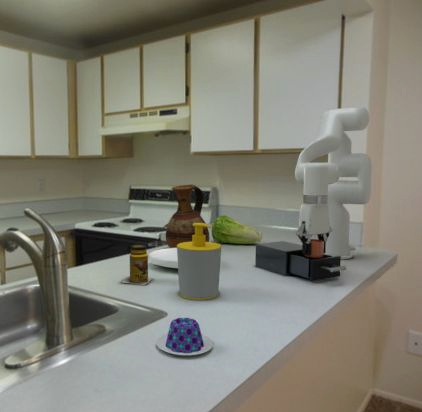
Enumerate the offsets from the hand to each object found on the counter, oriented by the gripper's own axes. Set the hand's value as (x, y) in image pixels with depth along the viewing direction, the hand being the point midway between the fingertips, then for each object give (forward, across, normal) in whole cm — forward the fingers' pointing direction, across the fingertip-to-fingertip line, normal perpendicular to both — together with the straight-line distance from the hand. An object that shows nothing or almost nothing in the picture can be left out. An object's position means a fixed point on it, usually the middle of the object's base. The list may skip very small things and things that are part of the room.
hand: (313, 253), depth 138 cm
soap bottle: (+8, +44, -2) cm, 45 cm away
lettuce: (+9, -16, -62) cm, 65 cm away
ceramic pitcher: (+9, +13, -61) cm, 63 cm away
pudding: (+8, +66, +26) cm, 72 cm away
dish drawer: (+7, 0, +1) cm, 8 cm away
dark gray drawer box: (+8, 0, -13) cm, 16 cm away
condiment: (+8, +55, -23) cm, 60 cm away
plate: (+9, +30, -35) cm, 47 cm away
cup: (+1, 0, 0) cm, 1 cm away
